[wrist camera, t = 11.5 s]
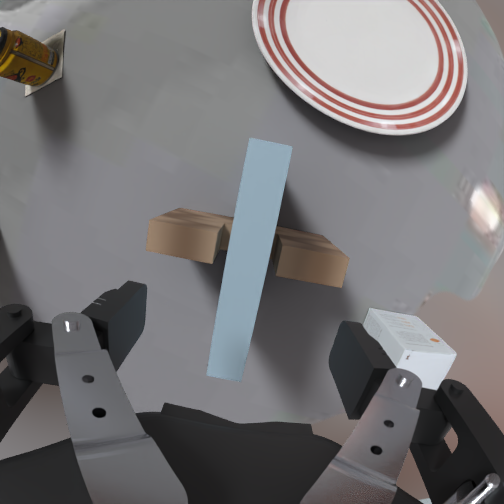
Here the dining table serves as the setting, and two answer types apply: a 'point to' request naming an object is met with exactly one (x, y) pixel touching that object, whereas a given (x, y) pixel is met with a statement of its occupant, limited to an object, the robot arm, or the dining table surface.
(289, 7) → the dinner plate
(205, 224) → the walnut block
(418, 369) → the small box
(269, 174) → the light blue square panel
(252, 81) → the dining table surface
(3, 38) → the condiment
